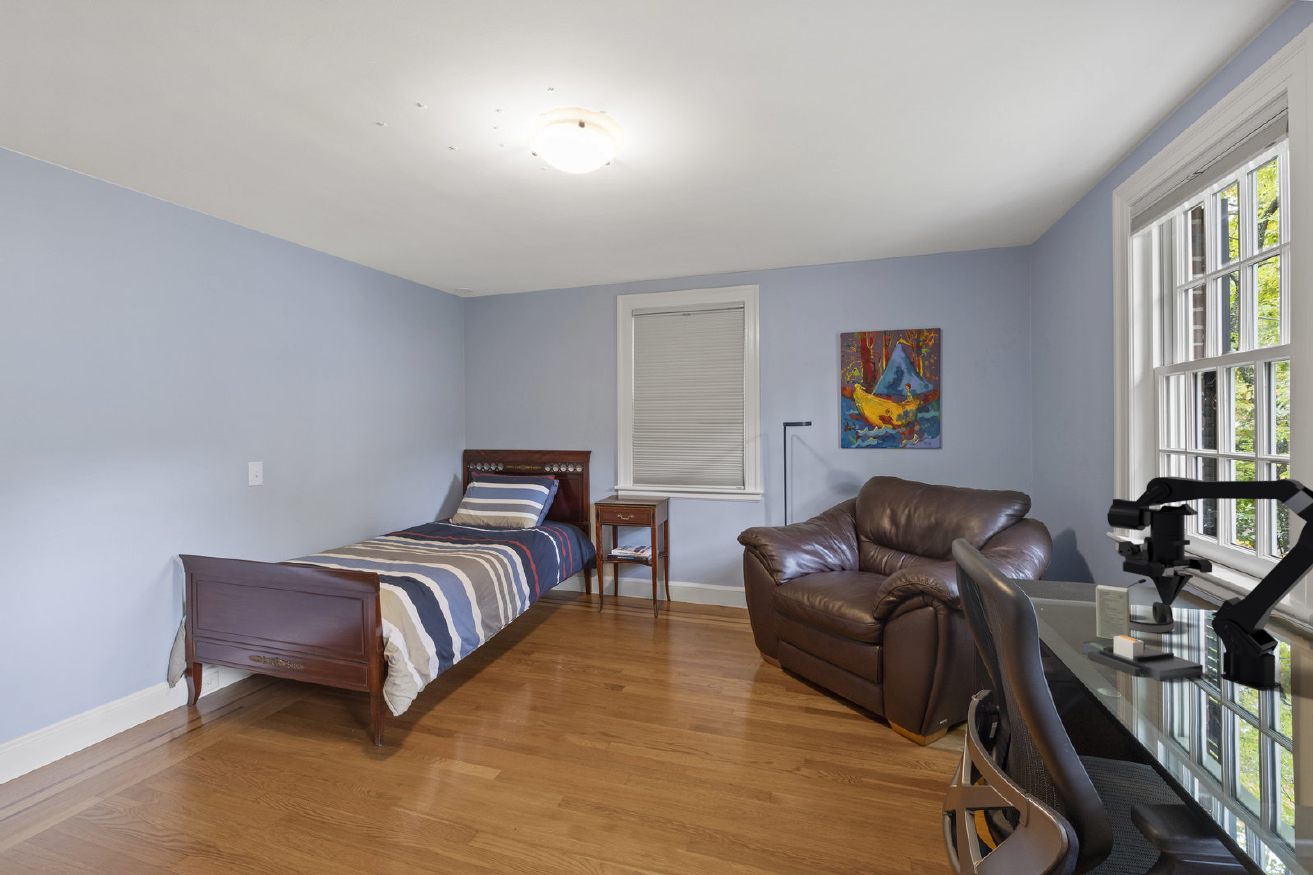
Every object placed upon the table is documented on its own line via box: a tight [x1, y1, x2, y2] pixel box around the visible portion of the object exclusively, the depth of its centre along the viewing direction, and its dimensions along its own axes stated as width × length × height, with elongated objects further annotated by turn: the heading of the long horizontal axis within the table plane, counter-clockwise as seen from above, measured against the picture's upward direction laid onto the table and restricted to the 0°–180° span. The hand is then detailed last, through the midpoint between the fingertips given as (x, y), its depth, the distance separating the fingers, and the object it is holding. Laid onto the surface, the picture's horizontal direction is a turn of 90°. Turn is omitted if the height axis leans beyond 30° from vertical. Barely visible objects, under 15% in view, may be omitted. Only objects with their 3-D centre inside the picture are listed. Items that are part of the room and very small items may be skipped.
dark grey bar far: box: [1082, 638, 1114, 644], centre depth 136 cm, size 1×10×1 cm, turn 105°
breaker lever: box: [1114, 635, 1145, 659], centre depth 126 cm, size 4×3×4 cm
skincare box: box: [1095, 584, 1131, 639], centre depth 143 cm, size 6×4×12 cm
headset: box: [1125, 578, 1175, 634], centre depth 155 cm, size 14×10×20 cm
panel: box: [1081, 640, 1204, 682], centre depth 127 cm, size 16×12×3 cm
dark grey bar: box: [1086, 651, 1141, 677], centre depth 125 cm, size 10×1×1 cm, turn 15°
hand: (1166, 605), depth 129 cm, fingers closed
